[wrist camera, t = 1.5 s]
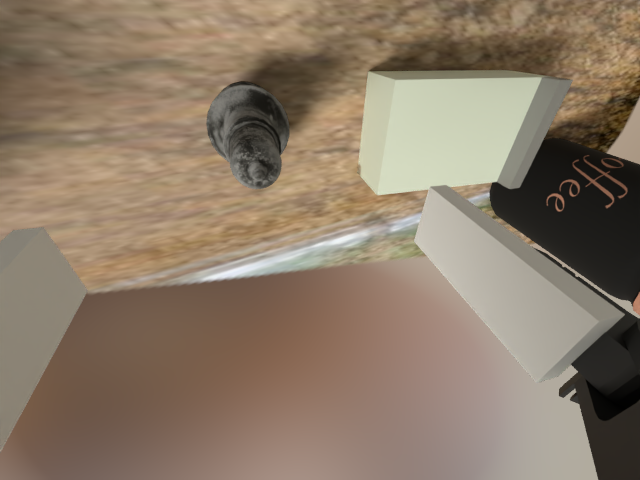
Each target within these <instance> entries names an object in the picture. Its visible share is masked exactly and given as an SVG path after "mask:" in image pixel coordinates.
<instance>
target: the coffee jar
mask: <svg viewBox="0 0 640 480" xmlns="http://www.w3.org/2000/svg"><path fill="white" fill-rule="evenodd" d="M490 201H491V206H492V208H493V210H494V212H495V214H496V215H497V216H498V217H500V218H501V219H503V220H504V221H505V222H507V223H508V224H510V225H511V226H513V227H514V228H515V229H517V230H518V231H520V232H521V233H523V234H524V235H525V236H527V237H528V238H530V239H531V240H532V241H534V242H535V243H537V244H538V245H540V246H541V247H542V248H544V249H545V250H547V251H548V252H550V253H551V254H552V255H554V256H555V257H557V258H558V259H560V260H561V261H562V262H564V263H565V264H567V265H568V266H569V267H571V268H572V269H574V270H575V271H577V272H578V273H579V274H581V275H582V276H584V277H585V278H587V279H588V280H589V281H591V282H593V283H594V284H595V285H597V286H598V287H599V288H601V289H602V290H604V291H605V292H607V293H608V294H610V295H612V296H614V297H616V298H618V299H621V300H628V301H630V302H631V304H632V306H633V310H634V311H635V312H636V313H638V314H639V315H640V165H639V164H637V163H634V162H631V161H628V160H625V159H622V158H619V157H616V156H613V155H610V154H607V153H604V152H601V151H598V150H595V149H592V148H589V147H586V146H583V145H580V144H577V143H574V142H571V141H568V140H564V139H558V138H551V139H547V140H543V142H542V144H541V146H540V148H539V150H538V152H537V154H536V156H535V158H534V160H533V162H532V164H531V166H530V168H529V170H528V172H527V174H526V176H525V178H524V180H523V182H522V184H521V186H520V188H514V189H508V188H506V187H505V186H503V185H501V184H500V183H498V182H492V186H491V189H490Z"/></svg>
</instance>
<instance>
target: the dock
mask: <svg viewBox="0 0 640 480" xmlns="http://www.w3.org/2000/svg"><path fill="white" fill-rule="evenodd" d="M572 81H573V80H570V79H564V78H557V77H551V76H544V75H537V74H531V73H524V72H517V71H511V70H447V71H368V77H367V86H366V96H365V105H364V115H363V124H362V134H361V143H360V153H359V163H358V172H357V173H358V174H359V175H360V176H361V177H362V179H363V180H364V181H365V182H366V183H367V184H368V185H369V186H370V188H371V189H372V190H373V191H374V192H375V193H376V194H377V195H383V194H392V193H401V192H410V191H419V190H428V189H429V187H431V186H441V185H447V186H448V187H455V186H464V185H473V184H482V183H491V182H498V183H500V184H501V185H503V186H505V187H506V188H508V189H514V188H520V186H521V184H522V182H523V180H524V178H525V176H526V174H527V172H528V170H529V168H530V166H531V164H532V162H533V160H534V158H535V156H536V154H537V152H538V150H539V148H540V146H541V144H542V142H543V140H544V138H545V136H546V134H547V132H548V130H549V128H550V126H551V124H552V121H553V119H554V117H555V115H556V113H557V111H558V109H559V107H560V105H561V103H562V101H563V99H564V97H565V95H566V93H567V91H568V89H569V87H570V85H571V83H572Z"/></svg>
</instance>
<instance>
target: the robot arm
mask: <svg viewBox="0 0 640 480" xmlns="http://www.w3.org/2000/svg"><path fill="white" fill-rule="evenodd" d="M414 242H415V243H416V244H417V245H418V246H419V248H420V249H421V250H422V251H423V252H424V253H425V255H426V256H427V257H428V258H429V259H430V260H431V261H432V263H433V264H434V265H435V266H436V267H437V268H438V270H439V271H440V272H441V273H442V274H443V275H444V277H446V279H447V280H448V281H449V282H450V283H451V285H452V286H453V287H454V288H455V289H456V290H457V291H458V293H459V294H460V295H461V296H462V297H463V299H464V300H465V301H466V302H467V303H468V304H469V305H470V306H471V308H472V309H473V310H474V311H475V312H476V314H477V315H478V316H479V317H480V318H481V319H482V321H483V322H484V323H485V324H486V325H487V326H488V327H489V329H490V330H491V331H492V332H493V333H494V334H495V336H496V337H497V338H498V339H499V340H500V341H501V342H502V344H503V345H504V346H505V347H506V348H507V349H508V351H509V352H510V353H511V354H512V355H513V356H514V358H515V359H516V360H517V361H518V362H519V363H520V365H521V366H522V367H523V368H524V369H525V370H526V371H527V373H528V374H529V375H530V376H531V377H532V378H533V380H534V381H535V382H536V383H538V382H542V381H545V380H548V379H551V378H555V377H558V376H559V375H560V374H561V373H563V371H565V370H566V369H567V368H568V367H569V366H570V365H572V366H573V367H574V368H575V369H576V370H577V371H578V373H576V374H575V375H574V376H573V377H572V378H571V379H570V380H569V381H567V382H566V383H565V384H564V385H563V386H562V387H561V388H560V389H559V396H560V397H563V398H564V397H565V396H566V395H567V394H569V393H570V392H571V391H572V390H574V389H576V393H575V394H574V395H573V396H572V397H571V399H570V400H571V401H573V402H576V403H578V404H580V409H581V412H582V416H583V420H584V424H585V428H586V432H587V436H588V440H589V444H590V448H591V452H592V456H593V460H594V464H595V468H596V472H597V476H598V480H640V319H639V318H637V317H635V316H634V315H632V314H631V313H629V312H628V311H626V310H625V309H623V308H622V307H620V306H619V305H618V304H616V303H615V302H613V301H612V300H611V299H609V298H608V297H607V296H605V295H604V294H602V293H601V292H599V291H598V290H597V289H595V288H594V287H593V286H591V285H590V284H588V283H587V282H585V281H584V280H583V279H581V278H580V277H576V276H575V274H574V273H573V272H572V271H570V270H569V269H567V268H566V267H562V265H561V264H560V263H559V262H557V261H556V260H555V259H553V258H552V257H550V256H549V255H548V254H546V253H544V252H542V251H540V250H537V249H535V248H533V247H531V246H530V245H528V244H527V243H526V242H524V241H523V240H522V239H520V238H519V237H517V236H516V235H515V234H513V233H512V232H511V231H509V230H508V229H506V228H505V227H504V226H502V225H501V224H499V223H498V222H497V221H495V220H494V219H493V218H491V217H490V216H488V215H487V214H486V213H484V212H483V211H482V210H480V209H479V208H477V207H476V206H475V205H473V204H472V203H471V202H469V201H468V200H466V199H465V198H464V197H462V196H461V195H460V194H458V193H457V192H455V191H454V190H453V189H451V188H450V187H448V186H447V185H441V186H431V187H429V191H428V194H427V198H426V201H425V205H424V208H423V212H422V215H421V219H420V222H419V226H418V229H417V233H416V236H415V240H414ZM87 291H88V290H87V288H86V287H85V286H84V284H83V283H82V281H81V280H80V279H79V277H78V276H77V274H76V273H75V271H74V270H73V269H72V267H71V266H70V264H69V263H68V261H67V260H66V259H65V257H64V256H63V254H62V253H61V251H60V250H59V249H58V247H57V246H56V244H55V243H54V241H53V240H52V239H51V237H50V236H49V234H48V233H47V232H46V230H45V229H44V227H41V228H32V229H22V230H13V231H12V232H11V233H10V234H9V235H7V236H6V237H5V238H4V239H3V240H2V241H1V242H0V452H1V450H2V448H3V446H4V445H5V443H6V441H7V439H8V437H9V435H10V434H11V432H12V430H13V428H14V426H15V424H16V422H17V420H18V419H19V417H20V415H21V413H22V411H23V409H24V408H25V406H26V404H27V402H28V400H29V398H30V396H31V394H32V393H33V391H34V389H35V387H36V385H37V383H38V382H39V380H40V378H41V376H42V374H43V372H44V370H45V369H46V367H47V365H48V363H49V361H50V359H51V358H52V356H53V354H54V352H55V350H56V348H57V347H58V344H59V343H60V341H61V339H62V337H63V335H64V333H65V332H66V330H67V328H68V326H69V324H70V322H71V321H72V319H73V317H74V315H75V313H76V311H77V310H78V308H79V306H80V304H81V302H82V300H83V298H84V296H85V295H86V293H87Z"/></svg>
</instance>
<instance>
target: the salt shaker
mask: <svg viewBox="0 0 640 480" xmlns="http://www.w3.org/2000/svg"><path fill="white" fill-rule="evenodd" d="M207 130H208V136H209V138H210V140H211V143H212V145H213V147H214V148H215V149H216V151H217V152H218V153H219V155H221V156H222V157H223V158H224V159H226V160H227V161H228V162H230V168H231V170H232V173H233V175H234V176H235V178H236V179H237V180H238V181H239V182H240V183H241V184H242V185H244V186H246V187H248V188H252V189H262V188H266V187H268V186H270V185H272V184H273V183H274V182H275V181H276V180H277V178H278V176H279V175H280V171H281V157H280V155H281V154H282V152H283V151H284V149H285V147H286V146H287V142H288V138H289V122H288V118H287V114H286V112H285V110H284V108H283V106H282V105H281V103H280V102H279V101H278V100H277V99H276V98H275V97H274V96H273V95H272V94H271V93H269V92H268V91H266V90H265V89H263V88H261V87H260V86H258V85H256V84H253V83H250V82H238V83H234V84H231V85H229V86H228V87H226V88H224V89H223V90H222V92H221V93H220V94H219V95H218V96H217V97H216V98H215V99H214V101H213V102H212V104H211V106H210V109H209V111H208V116H207Z"/></svg>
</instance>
